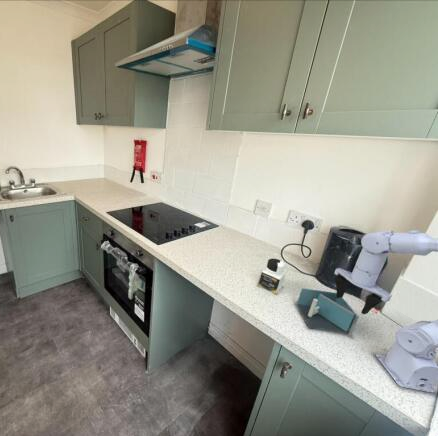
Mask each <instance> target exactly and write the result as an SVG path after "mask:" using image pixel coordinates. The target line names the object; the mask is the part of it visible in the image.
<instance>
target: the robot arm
mask: <svg viewBox="0 0 438 436" xmlns="http://www.w3.org/2000/svg"><path fill="white" fill-rule="evenodd" d="M360 243H361V247H362V249H361V251H360V253H359V255H358V258H357V260H356V262H355V265H354V268H353V269H352V272H351V271H348V270H346V269H343V268H341V267H337V268H336V269H335V270H334V273H333V274H334V275H336V276H334V277H333V280H334V282H335V287H336V288H335V289H336V293H337V294H336V297H337V298H341V297H342V298H344V296H345V293H346V290H347V289H348V286H349V285H350V284H352V285H354V286H356V287H358V288H360V289H363V290H365V291H367V292H368V293H370V294H368V295H366V297H365V302H364V305H363V307H362V309H361V312H360V313H361V315H367V314H369V312H370V311H372V309H373V308H375V307H376V306H378V305H379V304H380V303H387V302H390V300H391V299H392V297H393V295H392V294H391V293H389V292H387V291H385V290H384V289H383V288H381V287H380V286H378V284H376V282H377V280H378V278H379V276H380V274H381V271H382V269H383V267H384V265H385V263H386V261H387V258H388V256H389V254H390V253H391V254H399V255H410V256H411V255H412V256H420V257H421V256H422V257H425V256H428V255H429V254H431V253H432V252H434V253H435V252H436V253H438V238H434V237H432V235H429V234H428V233H424V232H420V231H419V230H408V232H397V231H396V232H395V231H394V230H386V231H385V230H383V231H381V230H380V231H376V232H369V233H366V234H364V235H363V236H362V238H361V240H360ZM394 334H395V340H394V342H393V343H392V345H391V346H390V349H389V351H388V352H387V354H386V355H385V354H379V353H377V354H375V357H376V359H378V361H379V362H380V363H381V365H382V366H383V367H384V368H385V369H386V371H387V373H389V375H390V376H391V378H392V379H393V380H394V381H395V382H396V384H397V385H398V386H399V387H401V388H406V389H412V390H415V391H416V390H417V391H422V392H427V393H432V394H433V393H434V394H435V390H434V388H435V387H436V385H437V383H438V364H437V361H436V357H437V348H438V319H436V320H419V321H417V322H415V323H413V324H410V325H408V326H405V327H401V328H398V329H397V330H396V331H395V333H394Z"/></svg>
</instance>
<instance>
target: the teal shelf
mask: <svg viewBox="0 0 438 436" xmlns="http://www.w3.org/2000/svg"><path fill="white" fill-rule="evenodd" d="M316 313H318V314H320V315H321V316H323V317H324V318H326V319H327V320H329V321H330V322H332V323H334V324H335V325H337V326H338V327H340V328H341V329H343V330H344V331H346V332H347V330H348V328H349V326H350V324H351V322H352V320H353V317H354V315H355V313H356V312H355V313H353V312H351V311H349V310H348V309H346V308H344V307H343V306H341V305H339V304H337V303H336V302H334V301H332V300H330V299H329V298H327V297H325V296H324V295H322V294H319V297H318V300H317V299H314V300H313V302H312V305H311V308H310V310H309V313H308V316H309V317H312V315H314V314H316Z"/></svg>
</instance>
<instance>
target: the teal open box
mask: <svg viewBox="0 0 438 436" xmlns="http://www.w3.org/2000/svg"><path fill="white" fill-rule="evenodd" d="M319 294H322V295H324V296H325V297H327V298H329V299H330V300H332V301H334V302H336V303H337V304H339V305H341V306H343V307H344V308H346V309H348V310H349V311H351V312H353V313H355V315H354V317H353V320H352V322H351V324H350V326H349V328H348V330H347V332H346V331H344V330H343V329H341V328H340V327H338V326H337V325H335V324H334V323H332V322H330V321H329V320H327V319H326V318H324V317H323V316H321V315H320V314H318V313H316V314H314V315H312V317H309V316H308V313H309V310H310V308H311V305H312V302H313V300H314V299H317V300H318V297H319ZM336 294H337V292H334V291H333V292H331V291H324V290H318V289H310V288H303V287H302V288H301V289H300V292H299V295H298V299H297V301H296V304H295V306H296V307H297V310H298V311H299V313H300V316H301V317H302V319H303V321H304V322H305V324H306V326H307V328H308V329H311V330H318V331H324V332H329V333H336V334H342V335H347V337H351V335H352V333H353V331H354V329H355V326H356V324H357V323H358V320H359V317H360V315H358V314H357V312H356V311H354V310H353V308H352V307H351V306H350V305H349V303H348V302H347V301H346V300H345V299H344V297H341V298H337V297H336Z"/></svg>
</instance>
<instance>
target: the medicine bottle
mask: <svg viewBox="0 0 438 436" xmlns="http://www.w3.org/2000/svg"><path fill="white" fill-rule="evenodd" d="M285 267H286V264H285V262H284V261H283V260H280V259H278V258H269V259H268V261H267V264H266V267H264V269H262V271H261V273H260V277H259V280H258V286H259V287H261V288H263V289H265V290H267V291H269V292H271V293H273V294H277V293H278V292H279V290H280V289H281V288H282V287H283V284H284V281H285V278H286V274H287V272H286V271H284V270H285Z"/></svg>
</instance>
